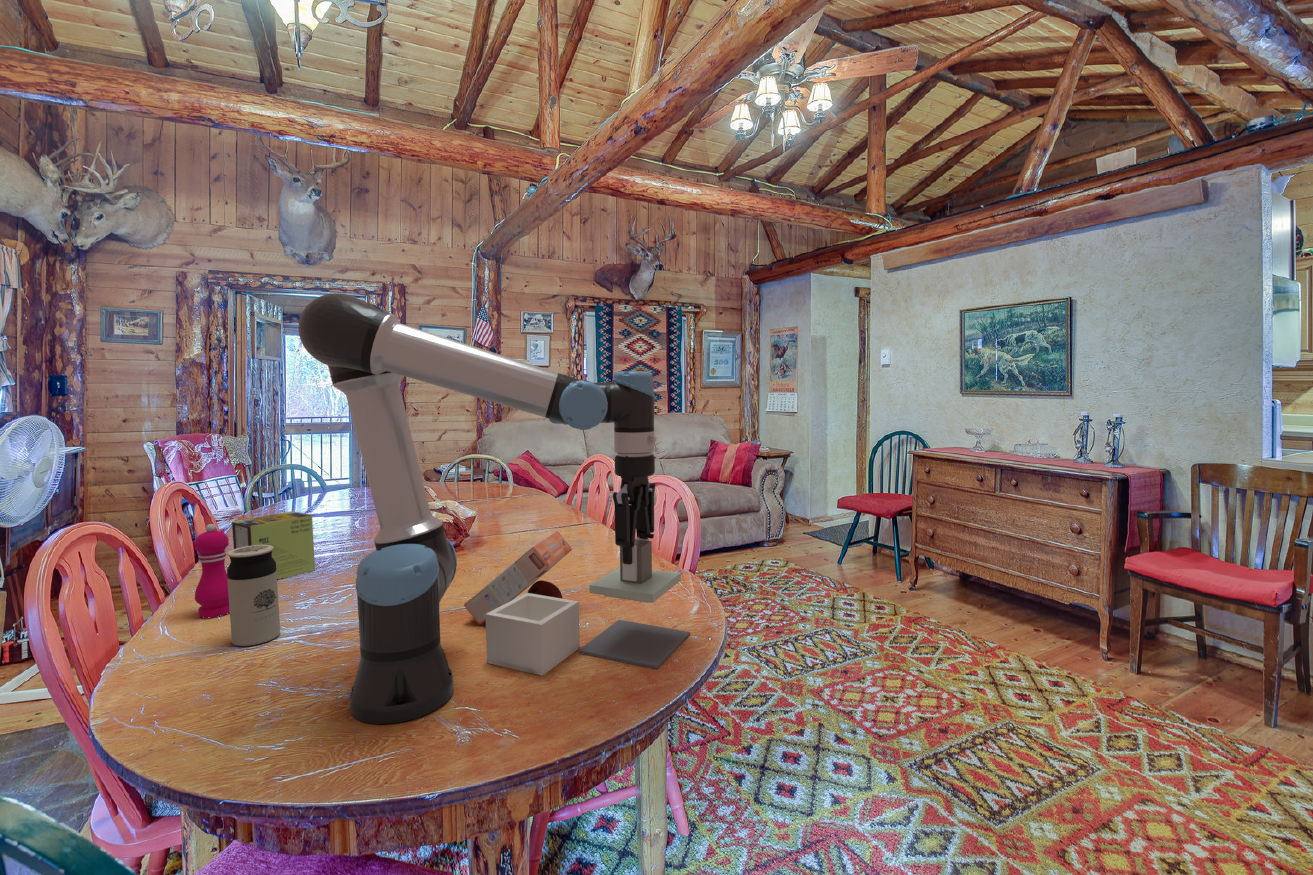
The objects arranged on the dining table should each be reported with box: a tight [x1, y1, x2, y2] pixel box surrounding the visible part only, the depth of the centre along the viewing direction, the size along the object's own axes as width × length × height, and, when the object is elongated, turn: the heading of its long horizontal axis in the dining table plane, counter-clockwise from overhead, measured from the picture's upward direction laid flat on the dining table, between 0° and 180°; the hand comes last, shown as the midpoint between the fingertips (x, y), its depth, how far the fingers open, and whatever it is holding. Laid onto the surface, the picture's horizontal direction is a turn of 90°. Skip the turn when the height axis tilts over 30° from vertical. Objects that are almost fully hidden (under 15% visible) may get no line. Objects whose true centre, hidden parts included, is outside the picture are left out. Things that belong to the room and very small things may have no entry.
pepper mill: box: [194, 523, 230, 619], centre depth 130 cm, size 7×7×20 cm
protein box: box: [231, 510, 316, 580], centre depth 157 cm, size 10×15×16 cm
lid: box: [588, 539, 682, 604], centre depth 113 cm, size 13×13×10 cm
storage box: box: [485, 592, 581, 677], centre depth 109 cm, size 12×12×9 cm
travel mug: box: [226, 545, 281, 647], centre depth 116 cm, size 8×8×18 cm
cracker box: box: [463, 530, 573, 626], centre depth 127 cm, size 14×6×21 cm
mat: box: [578, 619, 691, 670], centre depth 114 cm, size 16×16×1 cm
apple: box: [526, 579, 563, 599], centre depth 127 cm, size 7×8×8 cm
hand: (636, 575), depth 113 cm, fingers closed on lid, 4 cm apart
